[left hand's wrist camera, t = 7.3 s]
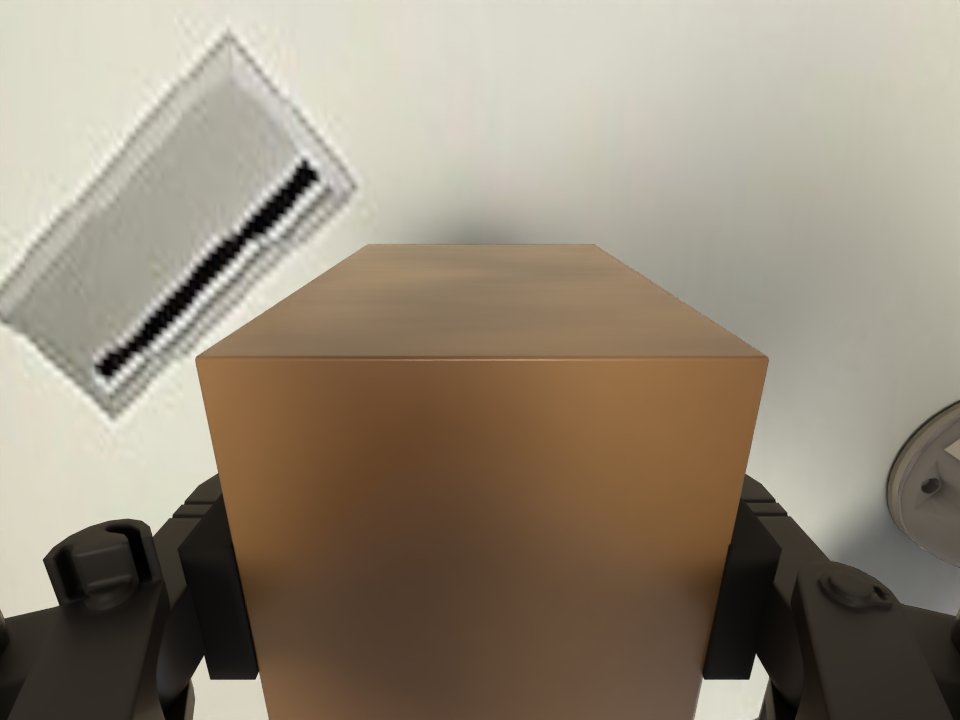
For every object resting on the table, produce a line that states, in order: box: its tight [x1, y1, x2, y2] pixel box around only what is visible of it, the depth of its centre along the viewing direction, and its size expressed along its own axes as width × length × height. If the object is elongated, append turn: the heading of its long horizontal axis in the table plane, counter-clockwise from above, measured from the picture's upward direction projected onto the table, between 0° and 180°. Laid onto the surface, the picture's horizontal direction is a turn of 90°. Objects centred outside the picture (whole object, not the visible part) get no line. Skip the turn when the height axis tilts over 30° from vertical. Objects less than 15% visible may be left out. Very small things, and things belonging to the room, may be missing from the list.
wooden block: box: [195, 244, 769, 720], centre depth 13 cm, size 8×8×11 cm
